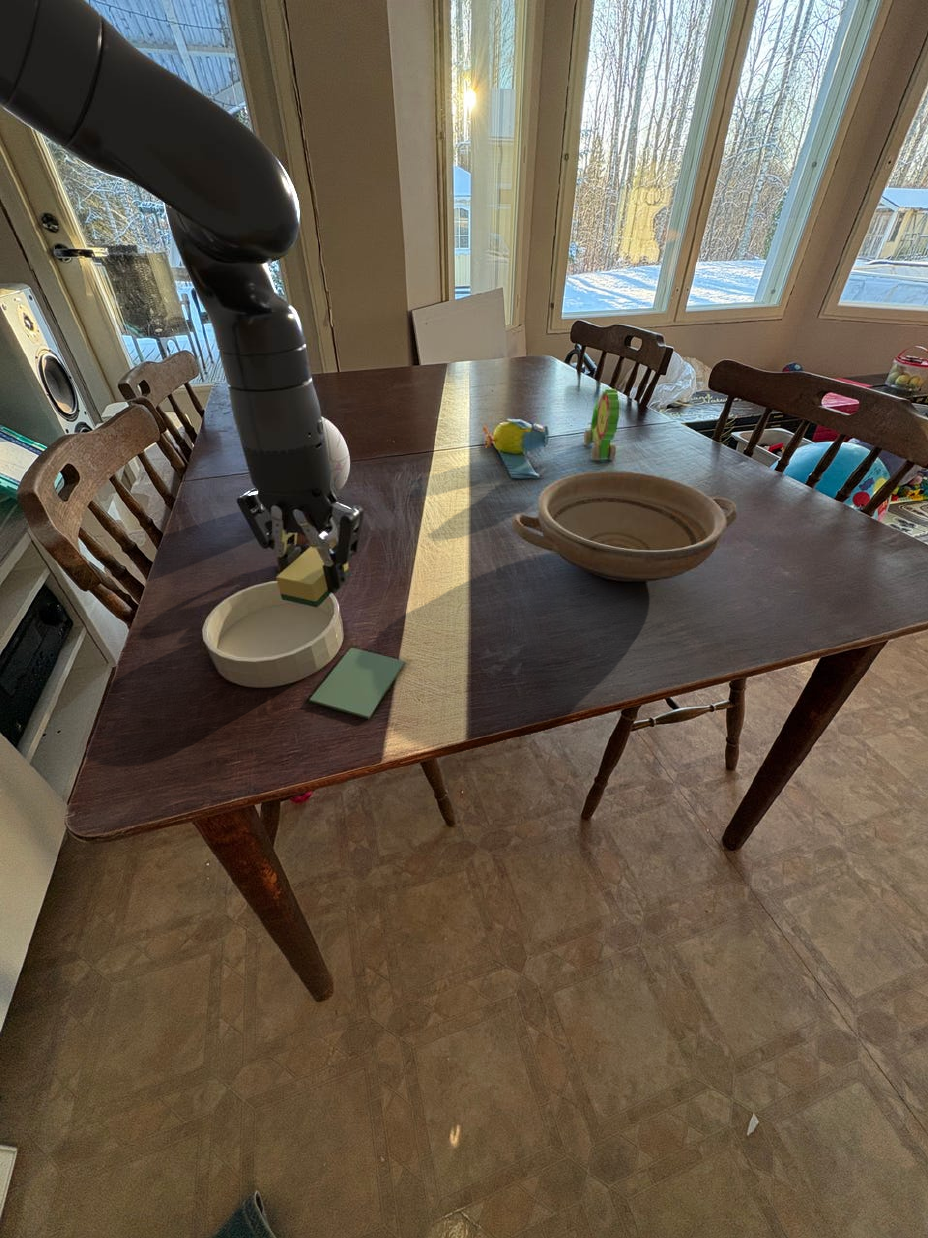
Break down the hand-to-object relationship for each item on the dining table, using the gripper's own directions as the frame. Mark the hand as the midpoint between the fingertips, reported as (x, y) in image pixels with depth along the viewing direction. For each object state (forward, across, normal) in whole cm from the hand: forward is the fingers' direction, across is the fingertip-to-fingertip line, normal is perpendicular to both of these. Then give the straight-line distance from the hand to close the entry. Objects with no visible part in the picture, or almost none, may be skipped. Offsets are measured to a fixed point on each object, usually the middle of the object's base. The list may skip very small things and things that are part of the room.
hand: (316, 584), depth 58 cm
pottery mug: (+14, -17, +20) cm, 30 cm away
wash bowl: (+13, -10, +2) cm, 17 cm away
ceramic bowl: (+14, +31, +39) cm, 52 cm away
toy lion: (+14, +22, +87) cm, 91 cm away
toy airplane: (+14, +3, +79) cm, 80 cm away
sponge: (0, 0, 0) cm, 0 cm away
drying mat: (+13, +4, -1) cm, 14 cm away
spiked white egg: (+14, -31, +47) cm, 58 cm away
